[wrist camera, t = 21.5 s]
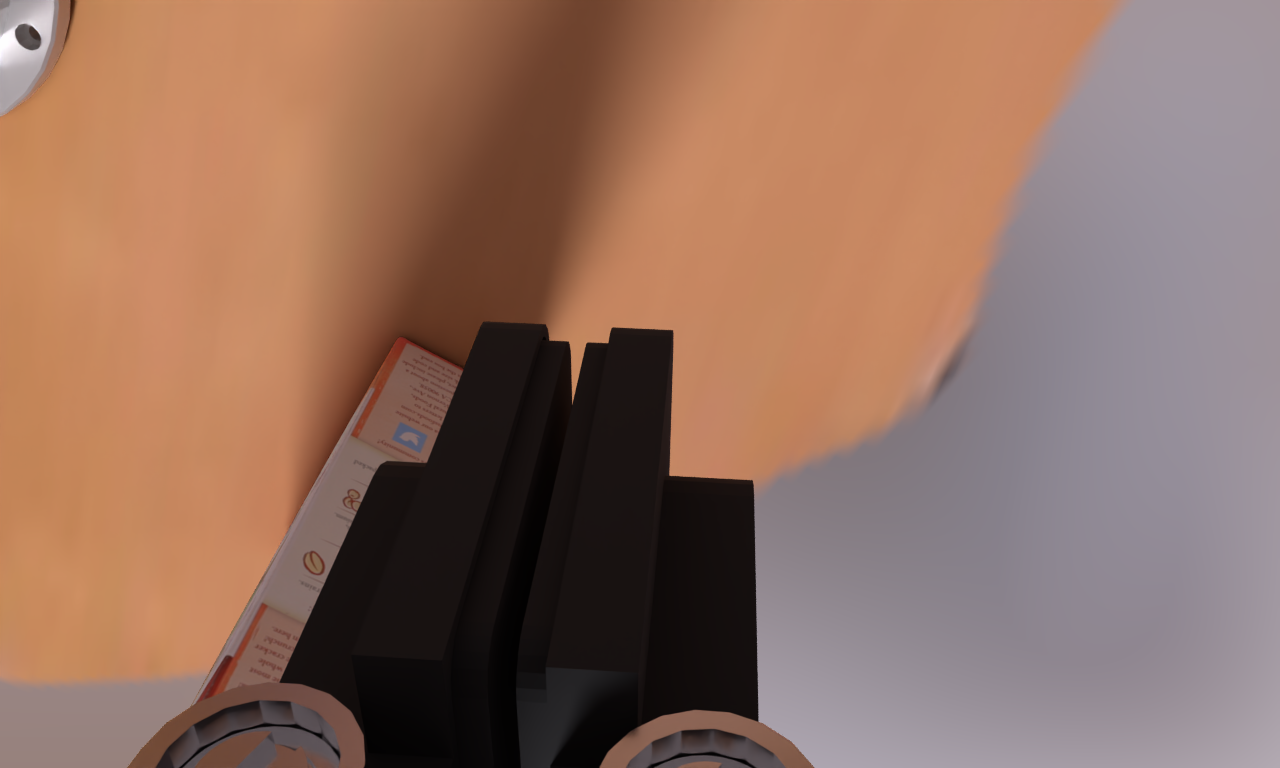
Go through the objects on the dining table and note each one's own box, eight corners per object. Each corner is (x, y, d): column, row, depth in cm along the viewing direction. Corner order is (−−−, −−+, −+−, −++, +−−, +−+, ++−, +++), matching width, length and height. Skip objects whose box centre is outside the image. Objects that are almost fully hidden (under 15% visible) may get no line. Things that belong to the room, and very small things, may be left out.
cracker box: (391, 325, 44) (158, 764, 26) (527, 395, 45) (393, 858, 27) (271, 552, 51) (23, 1019, 33) (392, 607, 52) (216, 1084, 34)
